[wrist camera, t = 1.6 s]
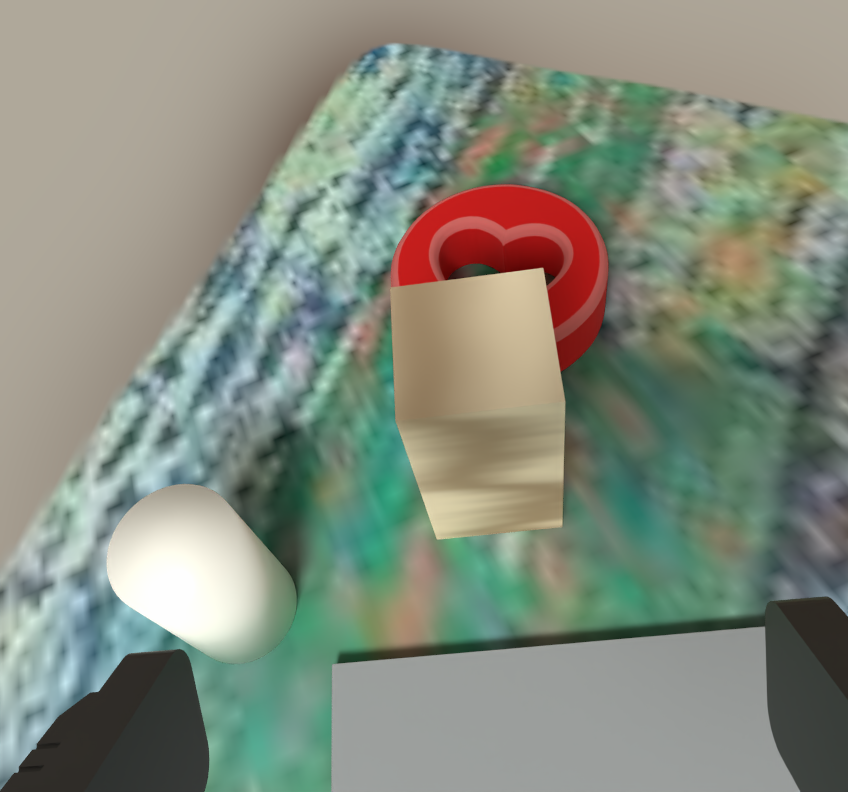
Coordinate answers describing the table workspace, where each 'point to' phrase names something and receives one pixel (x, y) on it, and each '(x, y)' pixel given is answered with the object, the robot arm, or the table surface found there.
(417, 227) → the decorative ornament
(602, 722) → the grey mat
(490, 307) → the beech block
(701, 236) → the table surface
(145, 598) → the white cylinder
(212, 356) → the table surface
